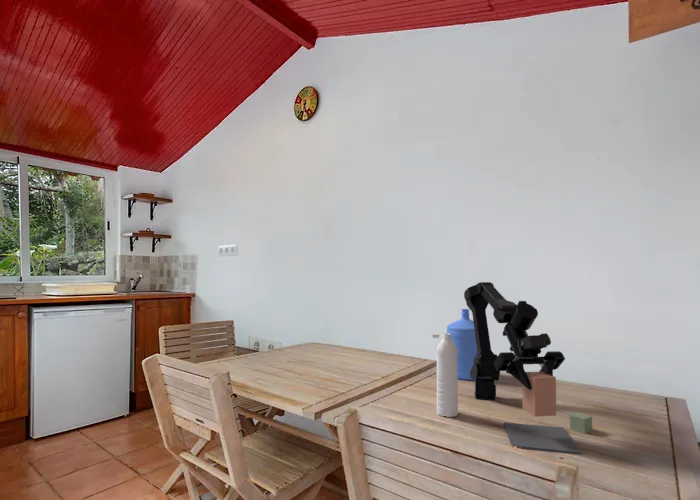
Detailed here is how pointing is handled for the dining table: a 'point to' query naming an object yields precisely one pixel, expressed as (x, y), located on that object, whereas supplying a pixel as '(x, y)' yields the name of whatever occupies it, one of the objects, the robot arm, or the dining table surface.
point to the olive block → (581, 422)
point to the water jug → (464, 344)
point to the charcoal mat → (540, 438)
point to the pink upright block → (540, 394)
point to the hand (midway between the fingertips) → (541, 388)
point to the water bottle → (447, 376)
